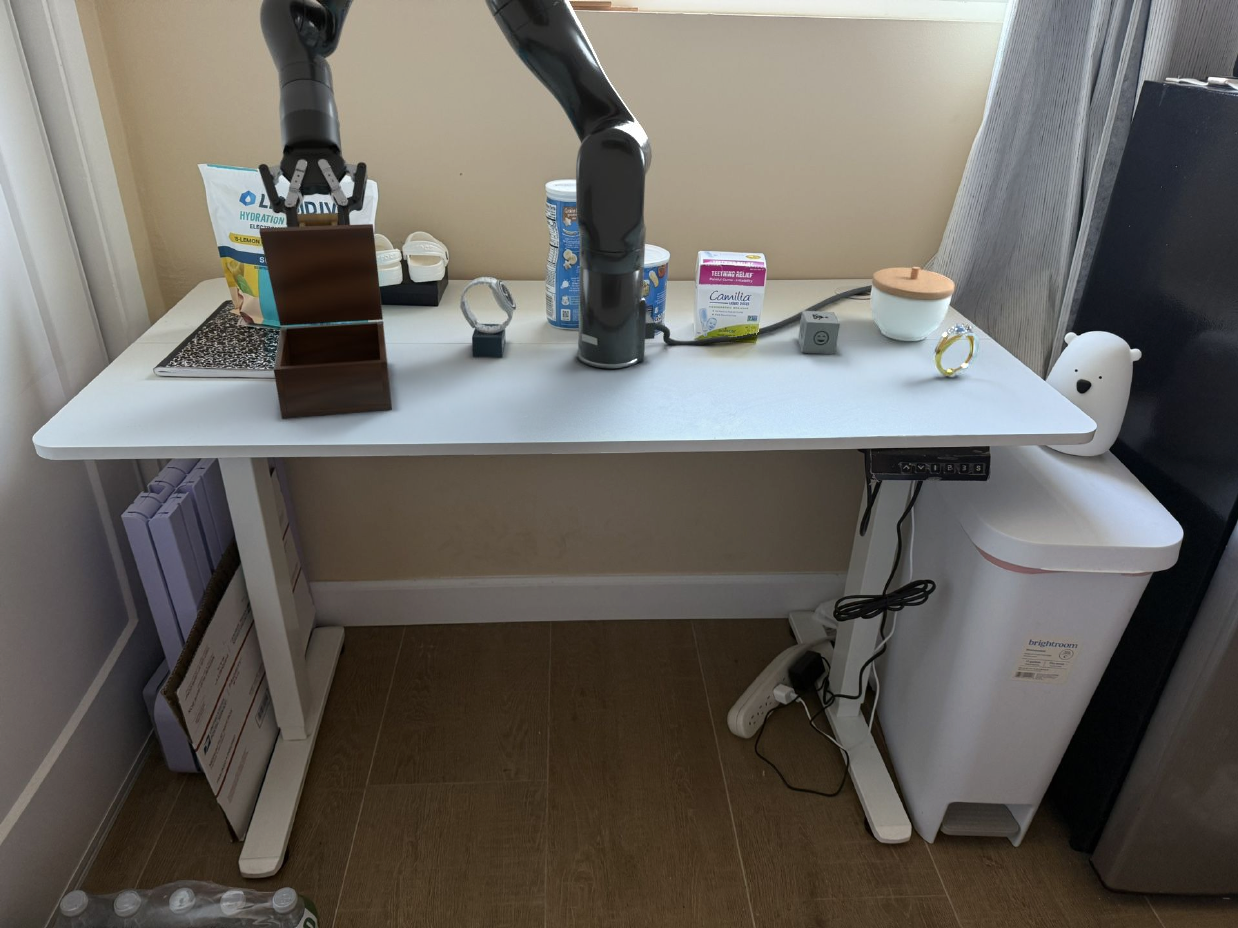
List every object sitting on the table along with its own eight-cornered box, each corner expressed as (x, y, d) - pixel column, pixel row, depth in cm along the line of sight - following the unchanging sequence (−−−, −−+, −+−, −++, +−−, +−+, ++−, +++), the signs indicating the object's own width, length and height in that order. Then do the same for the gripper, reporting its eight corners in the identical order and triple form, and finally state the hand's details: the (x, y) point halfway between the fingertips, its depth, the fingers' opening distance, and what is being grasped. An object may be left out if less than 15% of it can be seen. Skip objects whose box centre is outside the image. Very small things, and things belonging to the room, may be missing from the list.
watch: (515, 357, 133) (513, 286, 127) (461, 356, 133) (456, 284, 127) (518, 343, 138) (516, 273, 132) (466, 342, 137) (462, 272, 132)
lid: (373, 227, 113) (370, 201, 117) (259, 231, 110) (259, 204, 113) (382, 319, 125) (380, 293, 128) (280, 325, 122) (280, 298, 125)
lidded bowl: (863, 342, 143) (875, 275, 137) (863, 316, 153) (874, 252, 148) (945, 352, 140) (961, 284, 135) (940, 324, 151) (954, 260, 146)
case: (392, 409, 117) (386, 361, 113) (281, 418, 113) (273, 369, 110) (387, 365, 129) (383, 320, 126) (288, 372, 126) (280, 327, 122)
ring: (965, 370, 134) (977, 319, 130) (977, 379, 132) (990, 327, 128) (923, 373, 133) (935, 322, 129) (935, 382, 130) (947, 330, 126)
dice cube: (797, 340, 142) (802, 310, 140) (829, 342, 142) (834, 312, 140) (802, 352, 138) (806, 322, 136) (834, 354, 138) (839, 323, 136)
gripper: (248, 107, 115) (256, 223, 111) (363, 106, 119) (376, 219, 114) (258, 144, 122) (266, 254, 118) (366, 142, 126) (378, 249, 121)
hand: (320, 236), depth 116 cm, fingers closed on lid, 5 cm apart
